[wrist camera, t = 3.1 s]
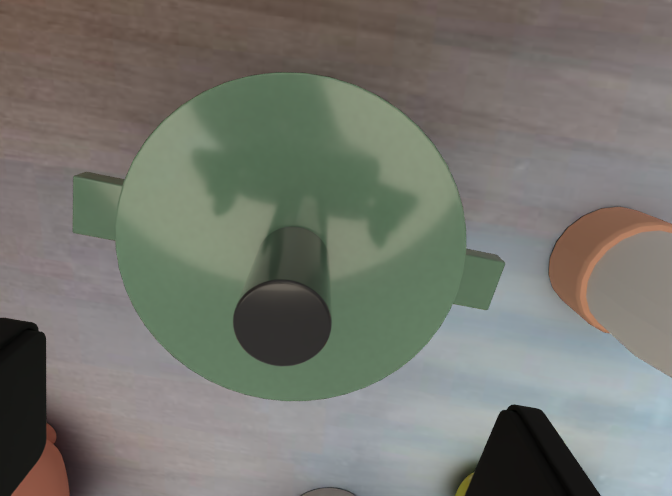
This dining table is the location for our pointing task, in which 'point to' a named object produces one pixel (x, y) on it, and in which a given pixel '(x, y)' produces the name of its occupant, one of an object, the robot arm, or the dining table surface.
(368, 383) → the pot lid
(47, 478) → the teapot
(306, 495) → the coffee cup
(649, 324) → the salt shaker
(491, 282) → the pot
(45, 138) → the dining table surface
